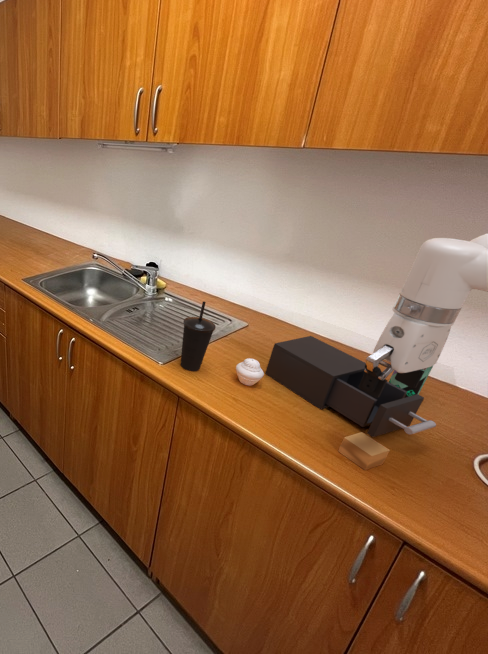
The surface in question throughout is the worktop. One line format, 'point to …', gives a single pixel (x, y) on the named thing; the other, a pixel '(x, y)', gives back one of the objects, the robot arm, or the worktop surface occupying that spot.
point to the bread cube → (363, 450)
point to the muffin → (249, 371)
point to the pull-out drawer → (376, 406)
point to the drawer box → (310, 367)
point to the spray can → (409, 390)
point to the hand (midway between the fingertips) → (386, 388)
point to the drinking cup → (195, 340)
